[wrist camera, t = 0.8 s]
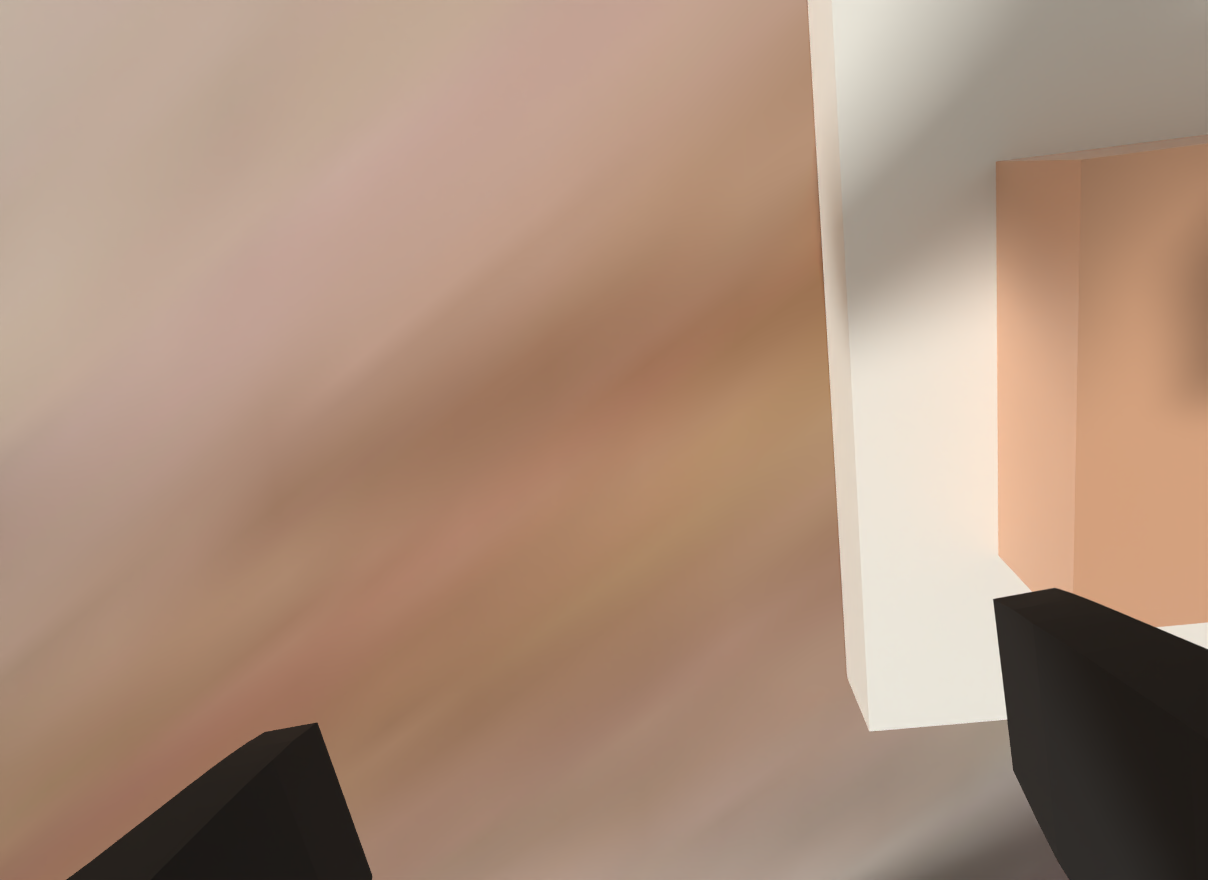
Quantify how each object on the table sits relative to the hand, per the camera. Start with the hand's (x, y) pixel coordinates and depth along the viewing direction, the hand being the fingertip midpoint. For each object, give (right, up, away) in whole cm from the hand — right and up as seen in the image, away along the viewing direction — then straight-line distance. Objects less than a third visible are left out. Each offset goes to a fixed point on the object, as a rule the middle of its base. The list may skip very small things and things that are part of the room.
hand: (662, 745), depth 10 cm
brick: (+9, +5, +6) cm, 12 cm away
